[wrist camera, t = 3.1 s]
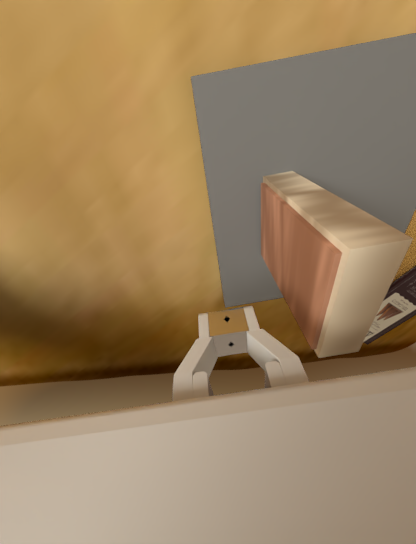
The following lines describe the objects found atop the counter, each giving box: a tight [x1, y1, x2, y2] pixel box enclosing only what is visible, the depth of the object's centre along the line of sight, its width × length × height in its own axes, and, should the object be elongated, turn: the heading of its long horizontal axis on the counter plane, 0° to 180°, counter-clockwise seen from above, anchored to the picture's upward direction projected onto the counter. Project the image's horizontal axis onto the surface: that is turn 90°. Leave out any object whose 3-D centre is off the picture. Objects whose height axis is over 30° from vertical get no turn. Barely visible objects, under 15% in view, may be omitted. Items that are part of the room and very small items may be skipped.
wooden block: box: [261, 171, 413, 358], centre depth 16 cm, size 3×8×12 cm, turn 9°
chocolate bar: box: [363, 266, 416, 344], centre depth 30 cm, size 9×1×18 cm
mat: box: [191, 33, 416, 307], centre depth 21 cm, size 20×22×1 cm
